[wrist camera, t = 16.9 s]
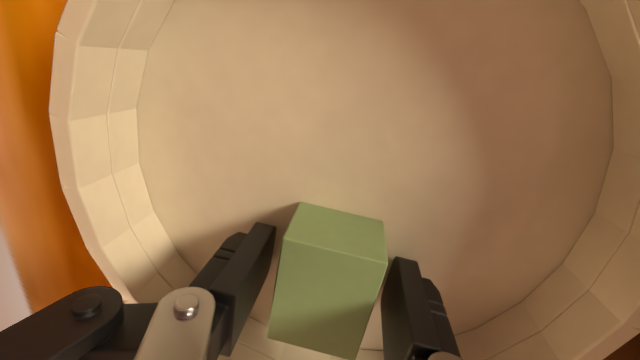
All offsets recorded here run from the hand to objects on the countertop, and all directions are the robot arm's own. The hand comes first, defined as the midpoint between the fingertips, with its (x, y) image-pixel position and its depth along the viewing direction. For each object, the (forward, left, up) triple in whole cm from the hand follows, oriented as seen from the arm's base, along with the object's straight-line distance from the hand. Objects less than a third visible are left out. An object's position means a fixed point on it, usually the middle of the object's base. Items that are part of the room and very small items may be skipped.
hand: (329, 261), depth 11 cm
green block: (0, 0, 0) cm, 0 cm away
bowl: (-3, 0, -1) cm, 3 cm away
